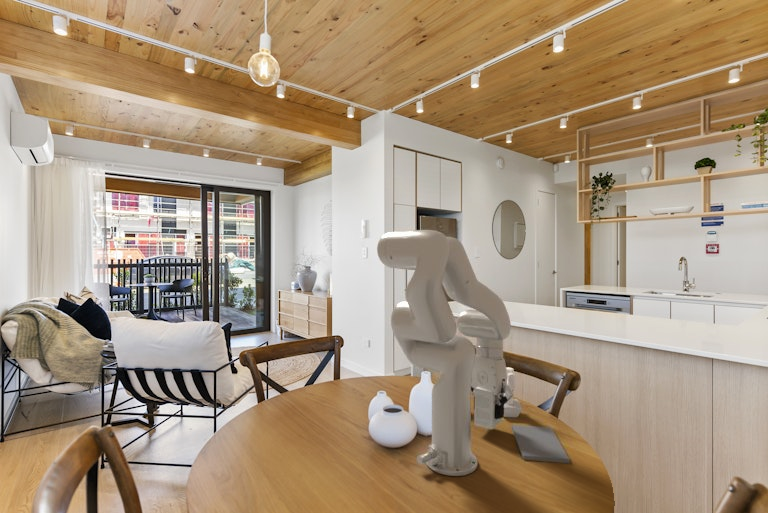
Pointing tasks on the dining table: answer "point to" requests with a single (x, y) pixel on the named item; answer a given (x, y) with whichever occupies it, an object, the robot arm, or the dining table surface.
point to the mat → (539, 444)
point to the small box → (485, 409)
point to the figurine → (512, 405)
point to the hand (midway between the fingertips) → (488, 413)
